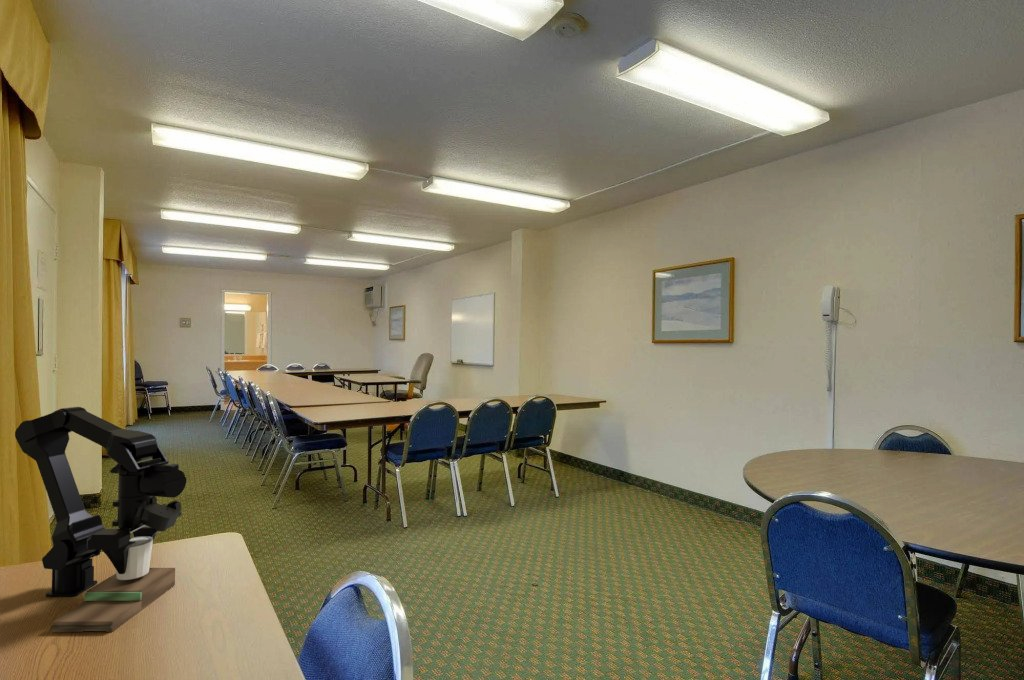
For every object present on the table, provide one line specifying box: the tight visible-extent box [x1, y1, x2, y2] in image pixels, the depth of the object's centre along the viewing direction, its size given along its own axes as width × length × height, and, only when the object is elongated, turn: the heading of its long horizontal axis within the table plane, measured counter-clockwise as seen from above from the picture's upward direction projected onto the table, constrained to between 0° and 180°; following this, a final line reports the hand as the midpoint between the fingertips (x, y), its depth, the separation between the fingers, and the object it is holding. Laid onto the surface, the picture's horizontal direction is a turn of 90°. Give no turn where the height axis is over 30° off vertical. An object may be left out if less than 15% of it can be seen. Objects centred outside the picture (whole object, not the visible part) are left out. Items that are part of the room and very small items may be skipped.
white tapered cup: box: [115, 536, 154, 580], centre depth 111 cm, size 7×7×7 cm
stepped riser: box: [50, 567, 176, 633], centre depth 107 cm, size 11×19×4 cm, turn 2°
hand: (132, 567), depth 111 cm, fingers closed on white tapered cup, 6 cm apart
